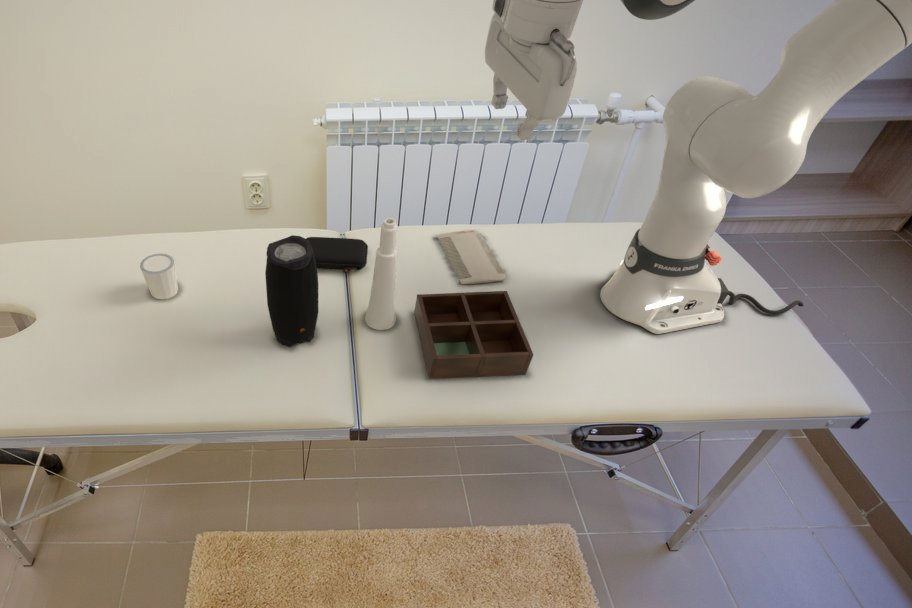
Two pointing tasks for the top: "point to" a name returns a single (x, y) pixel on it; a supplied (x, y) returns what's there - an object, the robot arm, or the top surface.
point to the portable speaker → (292, 290)
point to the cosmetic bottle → (384, 280)
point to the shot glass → (160, 275)
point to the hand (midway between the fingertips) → (509, 121)
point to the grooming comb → (471, 257)
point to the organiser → (471, 335)
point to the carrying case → (339, 253)
